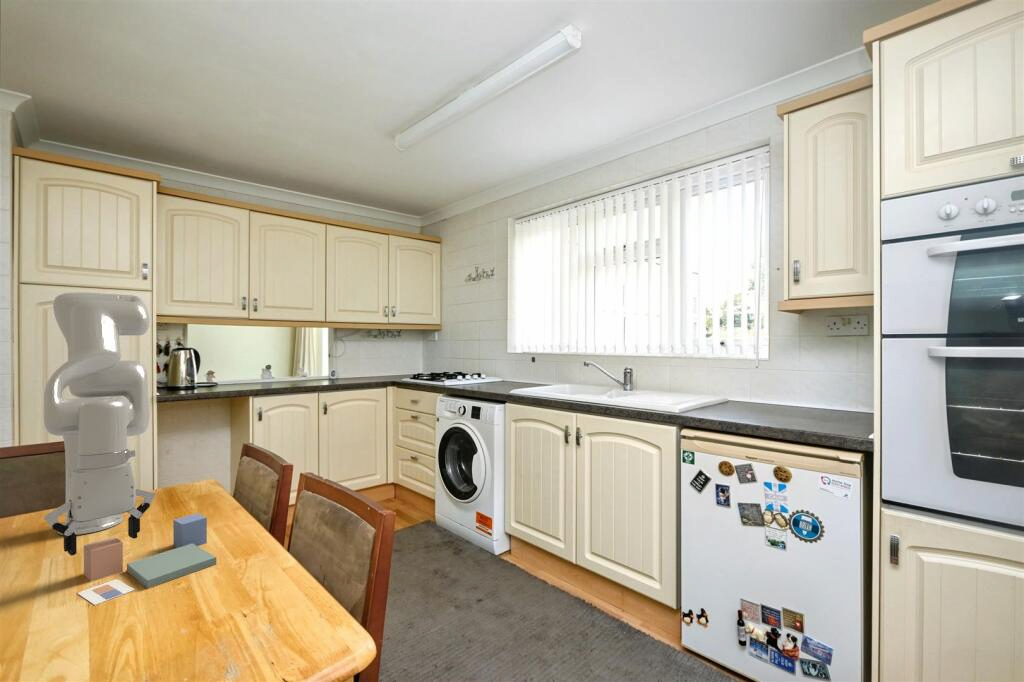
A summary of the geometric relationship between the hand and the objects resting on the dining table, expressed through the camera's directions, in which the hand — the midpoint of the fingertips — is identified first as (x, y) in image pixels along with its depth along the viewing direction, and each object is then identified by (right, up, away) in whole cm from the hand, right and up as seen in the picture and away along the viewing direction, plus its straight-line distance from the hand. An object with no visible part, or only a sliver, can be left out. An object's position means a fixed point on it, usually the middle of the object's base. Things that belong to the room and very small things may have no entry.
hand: (103, 545), depth 96 cm
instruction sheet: (+7, -6, -7) cm, 11 cm away
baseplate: (+12, -6, +3) cm, 14 cm away
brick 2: (+8, -6, +14) cm, 17 cm away
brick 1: (0, -6, 0) cm, 6 cm away
